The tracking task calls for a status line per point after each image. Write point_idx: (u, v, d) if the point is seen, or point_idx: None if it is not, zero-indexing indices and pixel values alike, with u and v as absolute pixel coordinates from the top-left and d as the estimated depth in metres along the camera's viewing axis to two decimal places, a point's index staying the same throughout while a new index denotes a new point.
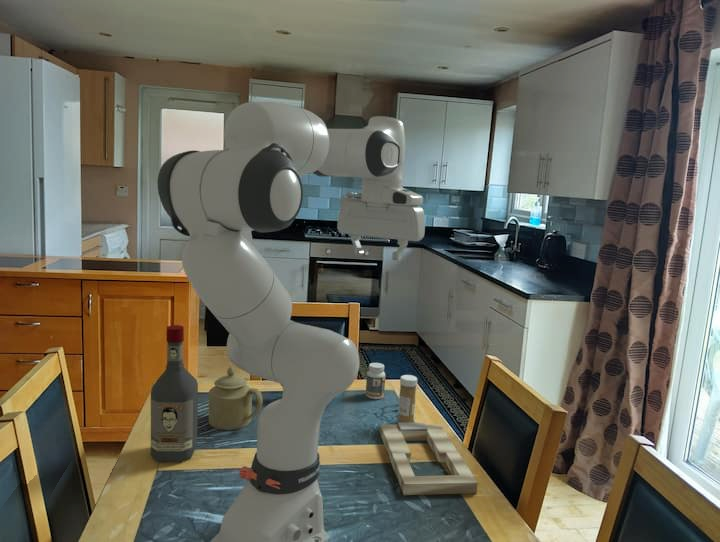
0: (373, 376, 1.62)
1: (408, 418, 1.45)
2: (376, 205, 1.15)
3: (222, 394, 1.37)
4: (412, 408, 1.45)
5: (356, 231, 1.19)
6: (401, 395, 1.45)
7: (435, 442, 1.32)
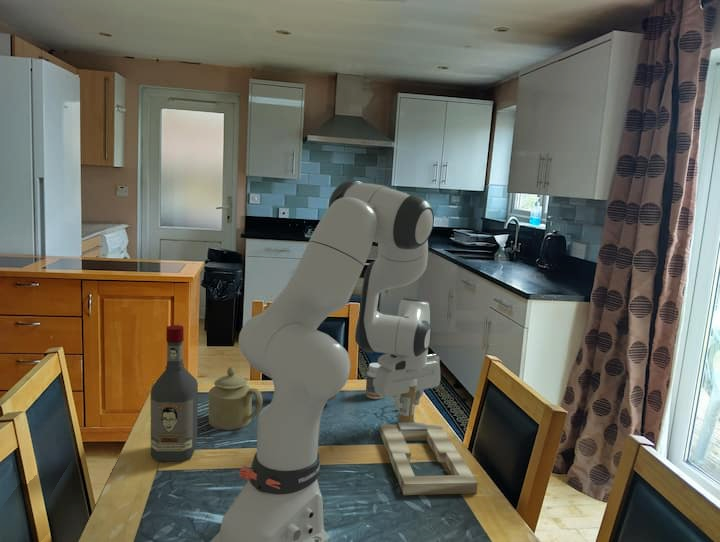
0: (373, 376, 1.62)
1: (408, 418, 1.45)
2: None
3: (222, 394, 1.37)
4: (412, 408, 1.45)
5: None
6: (401, 395, 1.45)
7: (435, 442, 1.32)
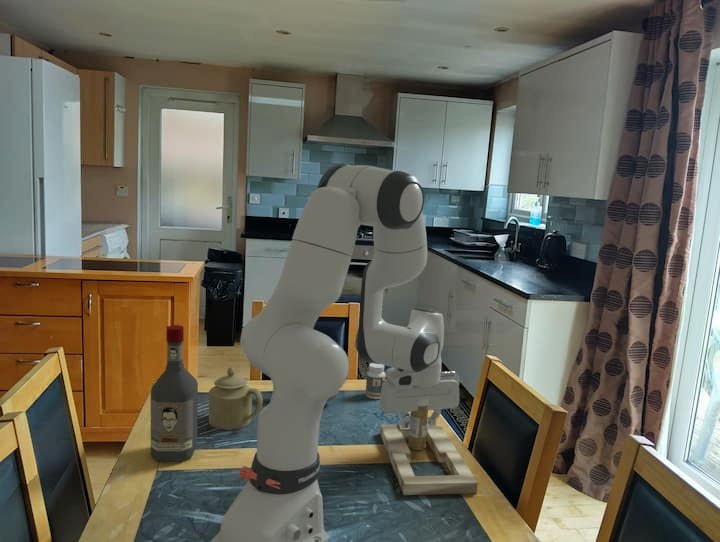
0: (373, 376, 1.62)
1: (417, 440, 1.32)
2: None
3: (222, 394, 1.37)
4: (422, 430, 1.32)
5: None
6: (411, 414, 1.33)
7: (435, 442, 1.32)
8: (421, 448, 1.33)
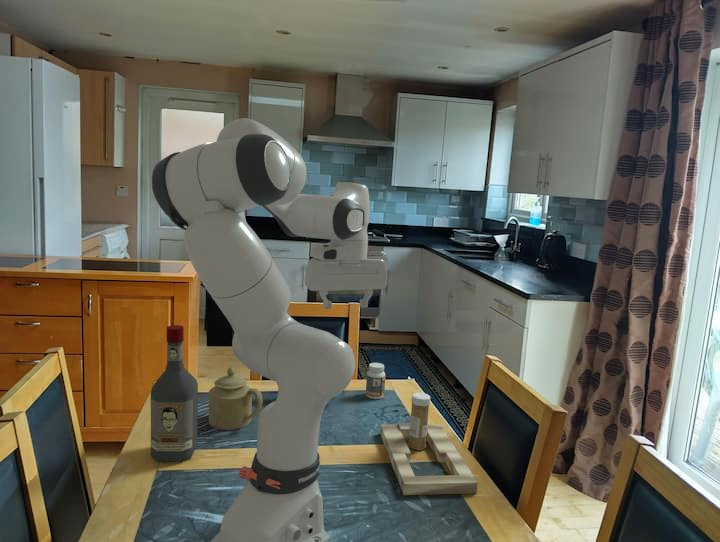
0: (373, 376, 1.62)
1: (417, 440, 1.32)
2: None
3: (222, 394, 1.37)
4: (423, 430, 1.32)
5: None
6: (411, 414, 1.33)
7: (435, 442, 1.32)
8: (421, 448, 1.33)
